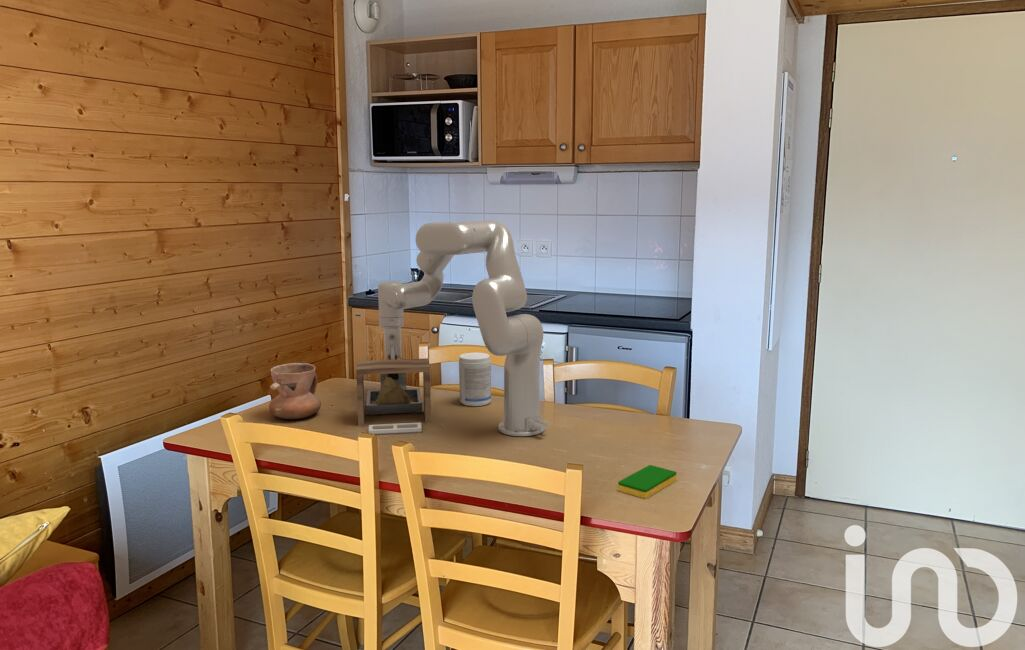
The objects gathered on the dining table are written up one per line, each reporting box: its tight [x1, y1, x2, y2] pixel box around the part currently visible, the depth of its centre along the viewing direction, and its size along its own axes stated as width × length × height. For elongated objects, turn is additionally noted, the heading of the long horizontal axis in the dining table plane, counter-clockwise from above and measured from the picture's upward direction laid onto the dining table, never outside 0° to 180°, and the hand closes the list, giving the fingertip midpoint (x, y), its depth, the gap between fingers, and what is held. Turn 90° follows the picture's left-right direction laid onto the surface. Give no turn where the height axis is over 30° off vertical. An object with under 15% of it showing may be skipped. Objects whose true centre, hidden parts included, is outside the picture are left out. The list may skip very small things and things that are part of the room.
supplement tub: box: [458, 352, 492, 407], centre depth 236 cm, size 10×10×15 cm
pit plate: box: [368, 422, 423, 436], centre depth 211 cm, size 5×14×1 cm, turn 99°
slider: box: [365, 373, 423, 416], centre depth 236 cm, size 25×16×9 cm, turn 9°
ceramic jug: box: [268, 362, 322, 420], centre depth 223 cm, size 18×14×14 cm
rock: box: [375, 377, 413, 404], centre depth 227 cm, size 11×9×10 cm
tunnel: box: [355, 357, 432, 427], centre depth 220 cm, size 10×20×16 cm, turn 99°
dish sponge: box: [617, 464, 677, 499], centre depth 174 cm, size 7×14×2 cm, turn 140°
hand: (393, 378), depth 244 cm, fingers closed
